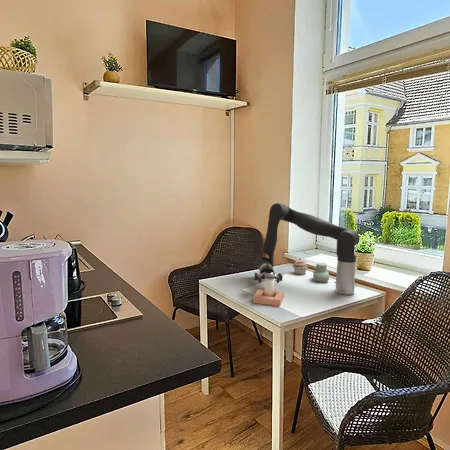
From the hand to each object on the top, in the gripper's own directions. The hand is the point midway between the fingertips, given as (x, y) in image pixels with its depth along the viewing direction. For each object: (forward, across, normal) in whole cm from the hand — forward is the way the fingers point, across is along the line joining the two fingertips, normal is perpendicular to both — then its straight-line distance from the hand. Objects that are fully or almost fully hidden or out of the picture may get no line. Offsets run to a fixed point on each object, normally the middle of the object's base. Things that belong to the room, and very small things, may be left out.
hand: (269, 281), depth 183 cm
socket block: (+2, 0, +9) cm, 9 cm away
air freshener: (-31, +33, +9) cm, 46 cm away
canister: (+2, 0, +9) cm, 9 cm away
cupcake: (-44, +23, +9) cm, 50 cm away
